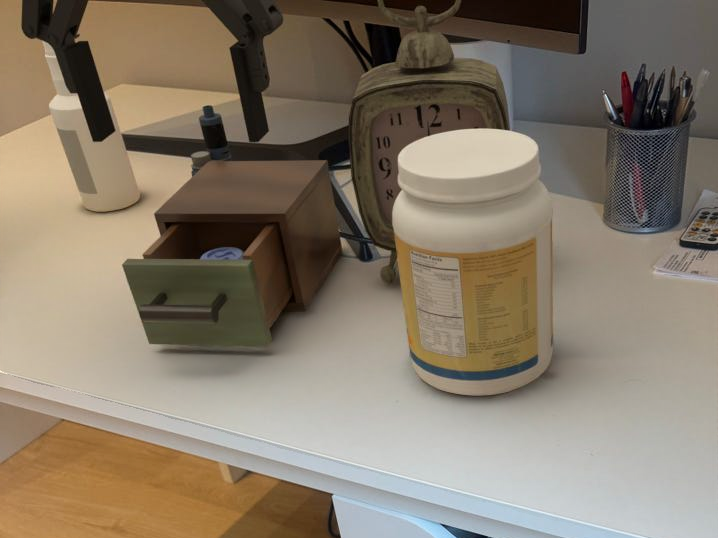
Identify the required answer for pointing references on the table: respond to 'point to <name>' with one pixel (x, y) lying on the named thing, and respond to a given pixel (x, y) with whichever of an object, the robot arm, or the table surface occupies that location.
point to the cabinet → (269, 212)
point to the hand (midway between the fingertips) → (181, 137)
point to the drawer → (211, 284)
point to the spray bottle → (91, 150)
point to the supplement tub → (475, 260)
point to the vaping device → (211, 140)
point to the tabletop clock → (414, 115)
